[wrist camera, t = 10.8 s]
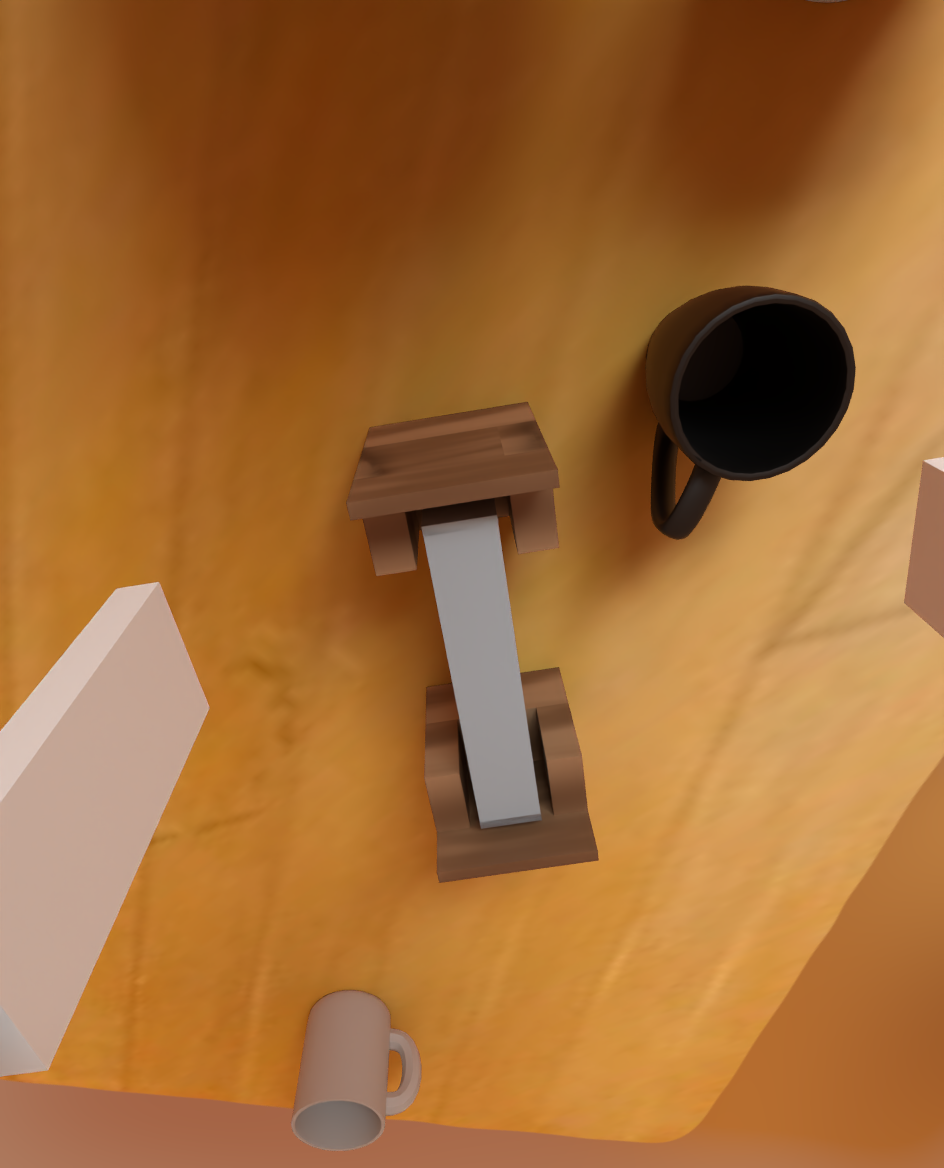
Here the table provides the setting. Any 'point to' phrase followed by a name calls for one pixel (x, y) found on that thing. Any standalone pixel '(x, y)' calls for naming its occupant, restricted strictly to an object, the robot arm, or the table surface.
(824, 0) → the canned food
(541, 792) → the post foot
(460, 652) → the rail
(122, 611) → the robot arm
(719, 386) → the mug
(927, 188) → the table surface
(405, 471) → the post head
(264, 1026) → the table surface
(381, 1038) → the cup
